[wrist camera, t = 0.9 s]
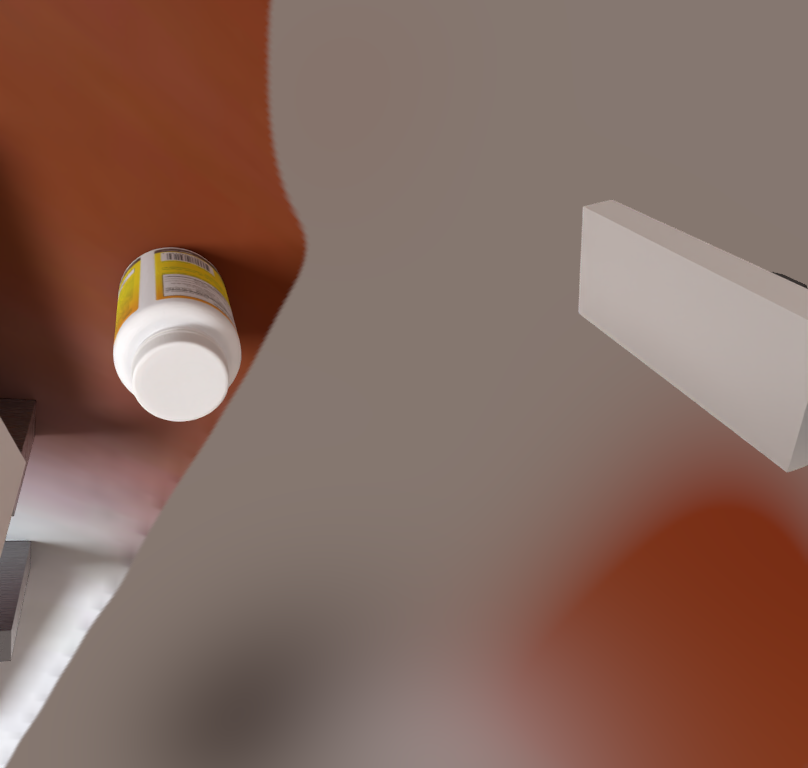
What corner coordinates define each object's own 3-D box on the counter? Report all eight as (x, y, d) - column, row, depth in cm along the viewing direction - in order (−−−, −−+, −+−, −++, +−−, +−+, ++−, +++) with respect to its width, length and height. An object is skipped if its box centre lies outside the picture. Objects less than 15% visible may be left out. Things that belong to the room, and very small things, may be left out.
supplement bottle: (146, 350, 37) (145, 455, 29) (100, 263, 34) (83, 352, 25) (240, 318, 38) (265, 411, 29) (203, 229, 35) (220, 305, 26)
